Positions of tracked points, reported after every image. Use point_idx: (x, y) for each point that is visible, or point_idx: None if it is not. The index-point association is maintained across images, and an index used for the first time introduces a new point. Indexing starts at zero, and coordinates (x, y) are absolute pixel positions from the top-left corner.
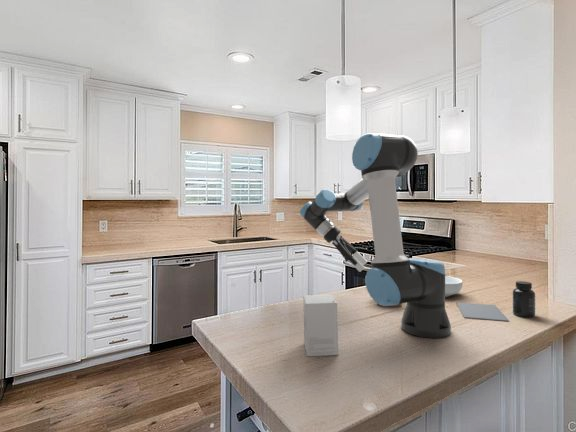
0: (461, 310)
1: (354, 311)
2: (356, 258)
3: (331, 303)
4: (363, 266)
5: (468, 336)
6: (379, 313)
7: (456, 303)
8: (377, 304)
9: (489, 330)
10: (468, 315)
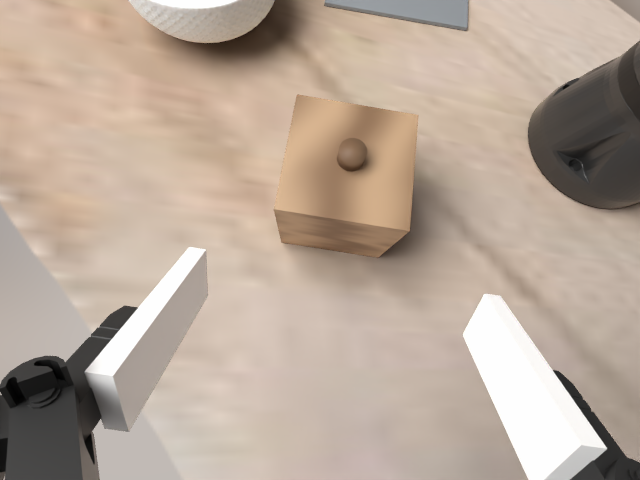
0: (408, 15)
1: None
2: (163, 366)
3: None
4: (499, 304)
5: None
6: (485, 260)
7: (331, 5)
8: (378, 256)
9: (544, 11)
10: (451, 14)
